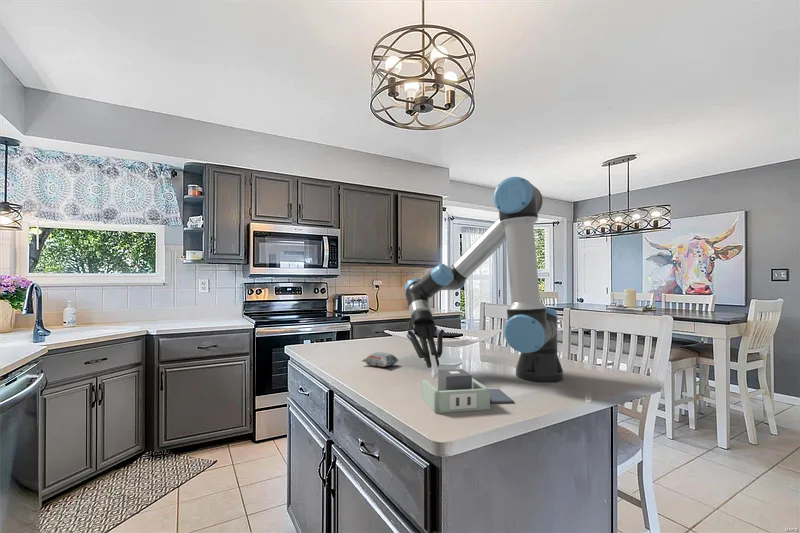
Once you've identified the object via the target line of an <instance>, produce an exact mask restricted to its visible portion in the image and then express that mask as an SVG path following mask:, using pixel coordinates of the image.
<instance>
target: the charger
mask: <svg viewBox="0 0 800 533" xmlns="http://www.w3.org/2000/svg"><path fill="white" fill-rule="evenodd" d="M472 378H473V375H472V374H470V373H469V372H468V371H466V370H465V369H463V368H459V369H458V368H456V369H438V377H437V390H438V391H446V390H462V389H472Z"/></svg>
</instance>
